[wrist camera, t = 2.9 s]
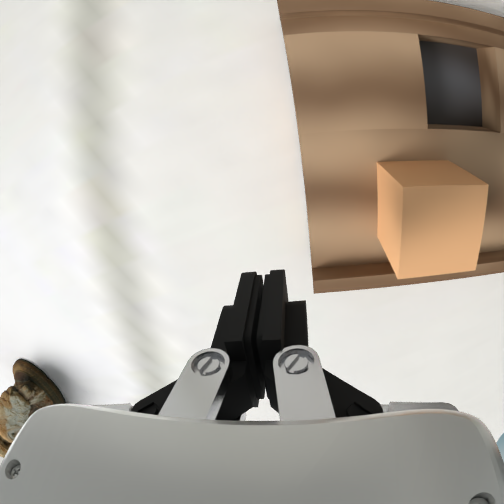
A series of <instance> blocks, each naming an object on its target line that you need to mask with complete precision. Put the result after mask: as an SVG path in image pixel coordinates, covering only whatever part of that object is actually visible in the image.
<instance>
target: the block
mask: <svg viewBox="0 0 504 504" xmlns="http://www.w3.org/2000/svg"><path fill="white" fill-rule="evenodd" d="M488 186H489V185H488V184H487V183H485V182H484V181H482V180H481V179H479V178H477V177H476V176H474V175H472V174H471V173H469V172H468V171H466V170H464V169H463V168H461V167H459V166H457V165H456V164H454V163H452V162H450V161H449V160H421V161H387V162H377V192H378V228H377V237H378V239H379V241H380V243H381V245H382V247H383V249H384V251H385V253H386V255H387V257H388V260H389V262H390V264H391V266H392V268H393V270H394V272H395V275H396V277H397V279H406V278H415V277H424V276H433V275H442V274H450V273H458V272H466V271H474V270H476V265H477V261H478V256H479V251H480V245H481V240H482V234H483V227H484V221H485V213H486V205H487V196H488Z"/></svg>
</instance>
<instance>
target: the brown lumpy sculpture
mask: <svg viewBox="0 0 504 504" xmlns="http://www.w3.org/2000/svg"><path fill="white" fill-rule="evenodd" d="M13 374H14V379H15V384H14V386H10V387H9V388H8V389H7V391H4V392H3V393H2V395H1V397H0V456H1V457H3V458H4V457H5V455H6V453H7V451H8V450H9V448H10V446H11V444H12V442H13V441H14V439H15V437H16V436H17V434H18V432H19V431H20V429H21V428H22V426H23V425H24V424H25V422H26V421H27V420H28V418H29V417H30V416H31V415H32V414H33V413H34V412H35V411H37V410H38V409H40V408H43V407H46V406H50V405H56V404H66V403H65V400H64V398H63V396H62V394H61V392H60V391H59V389H58V388H57V386H56V385H55V384H54V383H53V382H52V381H51V380H50V379H49V378H48V379H47V378H46V377H47V376H46V374H45V373H44V372H42V371H41V370H40V369H39V368H37V367H36V366H35V365H33V364H31V363H30V362H28V361H26V360H23V359H18V360H17V361H16V362H15V364H14V365H13Z"/></svg>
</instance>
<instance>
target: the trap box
mask: <svg viewBox="0 0 504 504" xmlns="http://www.w3.org/2000/svg"><path fill="white" fill-rule="evenodd" d="M277 3H278V9H279V15H280V20H281V26H282V31H283V37H284V42H285V48H286V54H287V60H288V66H289V72H290V78H291V84H292V91H293V98H294V105H295V112H296V119H297V126H298V134H299V142H300V150H301V158H302V167H303V176H304V185H305V194H306V204H307V215H308V226H309V238H310V250H311V263H312V275H313V288H314V293H326V292H338V291H349V290H360V289H371V288H381V287H391V286H400V285H410V284H418V283H427V282H435V281H444V280H452V279H459V278H467V277H474V276H481V275H488V274H495V273H502V272H504V18H503V17H500V16H496V15H493V14H489V13H486V12H482V11H478V10H474V9H470V8H466V7H461V6H457V5H452V4H447V3H441V2H435V1H429V0H277ZM421 160H449V161H450V162H452V163H454V164H456V165H457V166H459V167H461V168H463V169H464V170H466V171H468V172H469V173H471V174H472V175H474V176H476V177H477V178H479V179H481V180H482V181H484V182H485V183H487V184H488V185H489V186H488V196H487V205H486V213H485V221H484V227H483V234H482V240H481V245H480V251H479V256H478V261H477V265H476V270H474V271H466V272H458V273H450V274H442V275H433V276H424V277H415V278H406V279H397V277H396V275H395V272H394V270H393V268H392V266H391V264H390V262H389V260H388V257H387V255H386V253H385V251H384V249H383V247H382V245H381V243H380V241H379V239H378V237H377V228H378V192H377V162H387V161H421Z"/></svg>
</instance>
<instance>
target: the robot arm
mask: <svg viewBox="0 0 504 504" xmlns="http://www.w3.org/2000/svg"><path fill="white" fill-rule="evenodd" d="M265 387H266V392H267V397H268V399H269V400H270V405H271V407H272V408H273V409H274V410H276V411H277V412H278V413H279V416H280V421H245V420H246V411H248V410H249V409H251V408H252V407H258V404H259V399H264V395H265ZM0 504H504V462H503V459H502V457H501V454H500V452H499V449H498V446H497V444H496V442H495V440H494V438H493V436H492V434H491V432H490V431H489V429H488V428H487V427H486V425H485V424H484V423H483V422H482V421H481V420H480V419H478V418H477V417H475V416H473V415H470V414H467V413H464V412H459V411H458V410H457V408H456V407H455V406H453V405H451V404H449V403H443V402H439V403H416V402H390V403H389V405H382V404H379V403H378V402H377V401H376V400H375V399H373V398H372V397H370V396H368V395H366V394H365V393H363V392H361V391H359V390H358V389H356V388H354V387H353V386H351V385H349V384H348V383H346V382H344V381H343V380H341V379H339V378H338V377H336V376H334V375H333V374H331V373H329V372H328V371H326V370H325V369H323V368H322V366H321V362H320V359H319V356H318V354H317V352H316V351H314V350H313V349H312V348H310V347H308V328H307V312H306V300H305V301H293V302H288V294H287V285H286V277H285V270H284V269H283V270H271V271H270V274H267V275H265V280H264V285H263V279H262V275H257V273H256V272H246V273H242V274H241V278H240V281H239V285H238V289H237V293H236V297H235V301H234V305H230V306H224V307H223V309H222V312H221V315H220V319H219V322H218V325H217V329H216V332H215V335H214V339H213V342H212V345H211V348H208V349H204V350H201V351H199V352H197V353H195V354H194V355H193V356H191V358H190V359H189V360H188V362H187V364H186V366H185V367H184V369H183V371H182V373H181V375H180V376H179V378H178V380H176V381H174V382H172V383H171V384H169V385H167V386H165V387H164V388H162V389H160V390H158V391H156V392H155V393H153V394H151V395H149V396H147V397H146V398H144V399H142V400H140V401H139V402H137V403H136V404H135V405H134V406H132V405H131V404H130V403H129V404H113V405H83V404H56V405H50V406H46V407H43V408H40V409H38V410H37V411H35V412H34V413H33V414H32V415H31V416H30V417H29V418H28V420H27V421H26V422H25V424H24V425H23V426H22V428H21V429H20V431H19V432H18V434H17V436H16V437H15V439H14V441H13V442H12V444H11V446H10V448H9V450H8V451H7V453H6V455H5V457H4V459H3V461H2V463H1V465H0Z"/></svg>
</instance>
